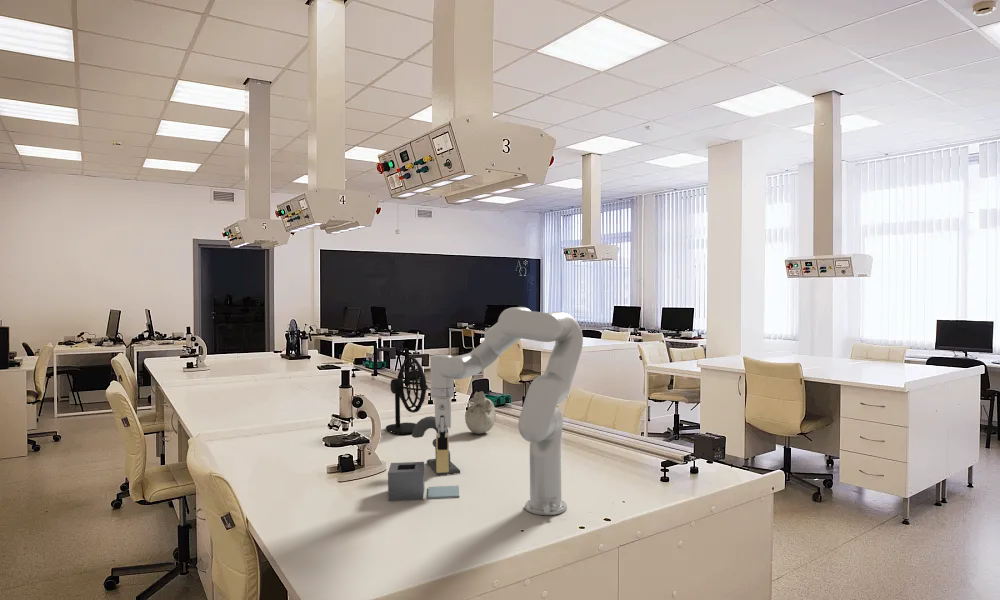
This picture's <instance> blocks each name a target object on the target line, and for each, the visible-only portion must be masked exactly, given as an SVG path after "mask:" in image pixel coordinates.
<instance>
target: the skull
mask: <svg viewBox="0 0 1000 600" xmlns="http://www.w3.org/2000/svg"><path fill="white" fill-rule="evenodd" d="M471 403H472V406H470V405H471ZM464 419H465V420H464V421H465V424H466V426H467V428H468V430H469V431H470V432H472V433H474V434H477V435H481V434H484V433H487V432H489V431H490V430H491V429H492V428H493V427H494V424H495V419H496V408H495V405H494V402H493V401H492V400H491V399H489V398H486V395H485V393H484V391H479V392H478V391H475V393H474V394H473V397H472V398H470V399H469V401H468V402H467V410H466V411H465V414H464Z"/></svg>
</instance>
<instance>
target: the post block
mask: <svg viewBox="0 0 1000 600" xmlns="http://www.w3.org/2000/svg"><path fill="white" fill-rule="evenodd" d="M424 497H425V461H415V462H414V461H410V462H409V461H408V462H407V461H405V462H390V465H389V469H388V472H387V499H388V501H387V502H394V501H396V502H397V501H417V500H419V501H422V500H424Z"/></svg>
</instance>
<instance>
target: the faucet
mask: <svg viewBox="0 0 1000 600" xmlns="http://www.w3.org/2000/svg"><path fill="white" fill-rule="evenodd" d="M415 424H416V425H415V427H414V429H413V432H412V434H411V437H412V438H415V439H417V438H423V437H424V436H425V434H426V433H425V432H427V430H429V429H433V430H434V431H436V432H435V433H438V429H437V428H436V422H435V416H431V415H430V416H425V417H423V418H420V420H418V422H416V423H415ZM447 433H449V427H447ZM432 446H433V447H434V449H435V454H436V438H434V439H433V441H432ZM426 465H427V466H428V465H429V466H430V467H431V468H430V467H429V466H428V467H429V468H430V469H431V470H432V471H433V472H434V473H435V474H436V476H437V477H441V476H440V475H443V476H448V475H447V474H451V475H455V474H454V473H459V474H461V469H459V468H458V467H457V465H455V464H454V463H453V462H452V461H451V452H450V450H449V472H443V473H436V458H429V459H427V460H426Z"/></svg>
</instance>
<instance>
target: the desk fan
mask: <svg viewBox="0 0 1000 600" xmlns="http://www.w3.org/2000/svg"><path fill="white" fill-rule="evenodd" d="M410 360H412V361H411V362H410ZM413 364H415V365H416V366H417V368H415V367H414V365H413ZM406 365H408V366H407V369H406V370H405V368H406ZM410 369H411V370H412V379H410V376H409V373H410ZM417 371H418V373H419V376H420V378H419V380H418V375H417ZM404 373H405V380H404ZM411 380H412V381H411ZM404 384H405V386H404ZM411 385H412V387H411ZM389 386H390V391H391V394H394V401H395V402H394V404H395V405H394V407H395V408H394V412H395V417H394V418H395V420H394V421H395V423H392V424H388V425H386V426H385V430H386V429H388V430H390V431H392V432H395V433H399V434H398V435H408V434H407V433H412V432H413V429H414V427H415V425H416V424H417V423H415V422H401V401H402V404H403V406H404V408H405V409H406V411H408V412H409V413H418V412H419V411H420V410H421V408H422V406H423V404H424V403H425V399H426V393H427V390H428V388H429V385H427V378H426V376H425V373H424V369H423V367H422V366H421V364H420V363H419V360H417V358H415V357H413V356H410V357H407V358H405V359H404V361H403V363H402V364H401V366H400V369H399V371H398V374H397V378H393V379H391V380H390V385H389ZM405 390H406V395H407V398H406V396H405ZM411 391H413V393H414V401H413V400H412V398H411ZM419 391H420V397H419ZM417 400H419V401H417ZM408 401H409V403H410V405H411V406H410V405H409V404H408ZM417 402H418V403H417ZM416 403H417V404H416ZM412 408H414V409H412ZM388 430H387V431H388ZM390 431H389V432H390ZM392 432H391V433H392Z"/></svg>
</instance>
